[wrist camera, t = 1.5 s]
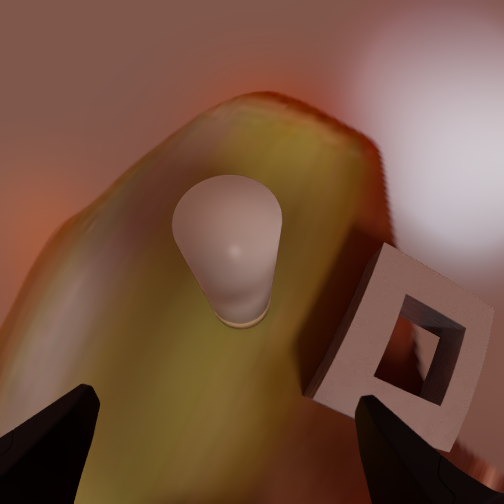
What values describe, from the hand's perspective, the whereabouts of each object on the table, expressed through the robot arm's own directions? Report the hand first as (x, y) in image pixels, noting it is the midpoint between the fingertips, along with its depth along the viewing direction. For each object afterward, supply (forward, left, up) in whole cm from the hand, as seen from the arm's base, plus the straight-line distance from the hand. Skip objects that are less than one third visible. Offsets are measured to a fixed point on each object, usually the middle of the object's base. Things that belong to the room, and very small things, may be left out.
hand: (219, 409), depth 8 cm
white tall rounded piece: (+6, +4, -13) cm, 15 cm away
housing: (+8, -10, -13) cm, 18 cm away
